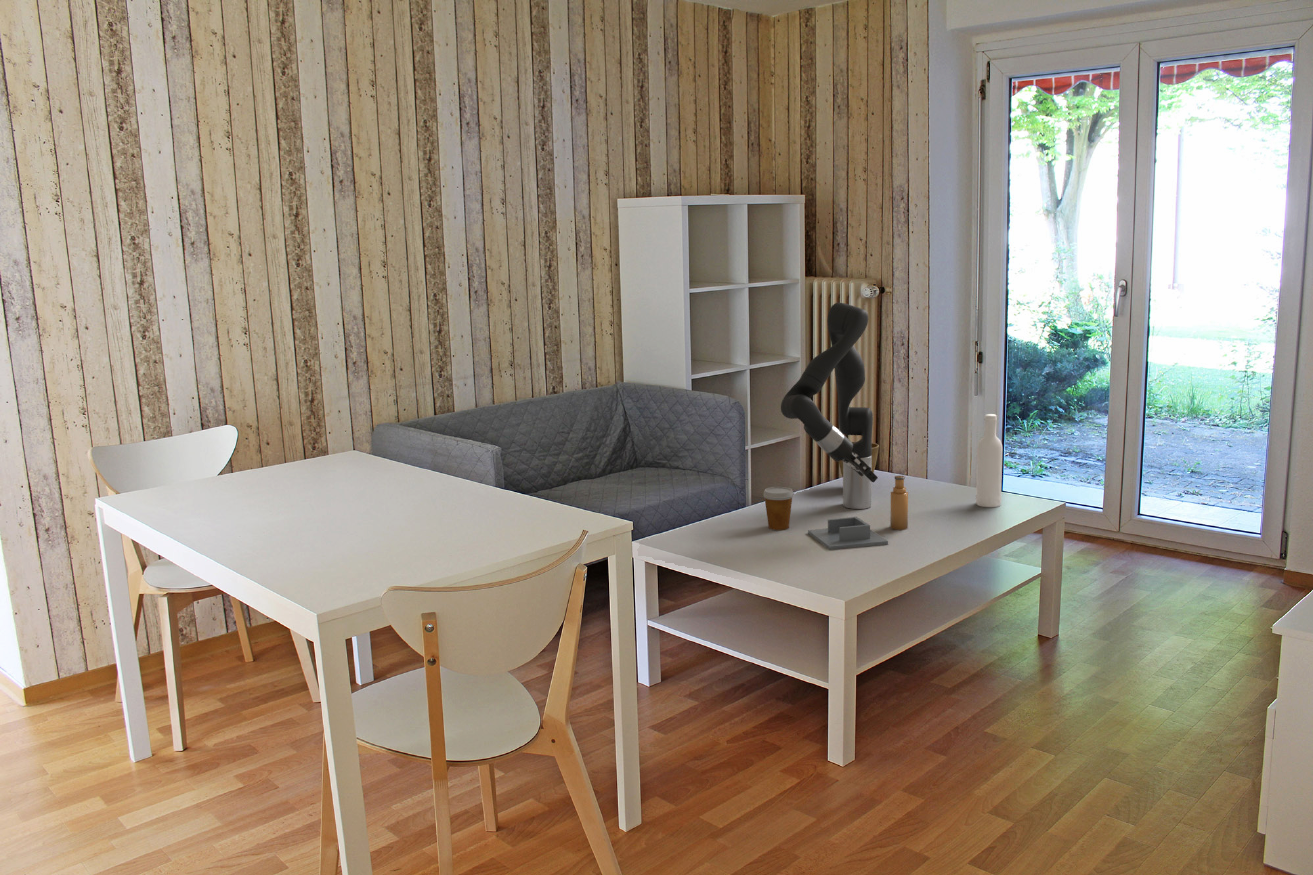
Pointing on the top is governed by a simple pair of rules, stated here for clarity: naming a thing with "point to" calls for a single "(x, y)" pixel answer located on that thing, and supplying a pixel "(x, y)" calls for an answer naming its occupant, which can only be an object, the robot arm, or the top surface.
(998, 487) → the bottle
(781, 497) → the disposable coffee cup
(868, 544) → the u rest
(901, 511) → the bottle
